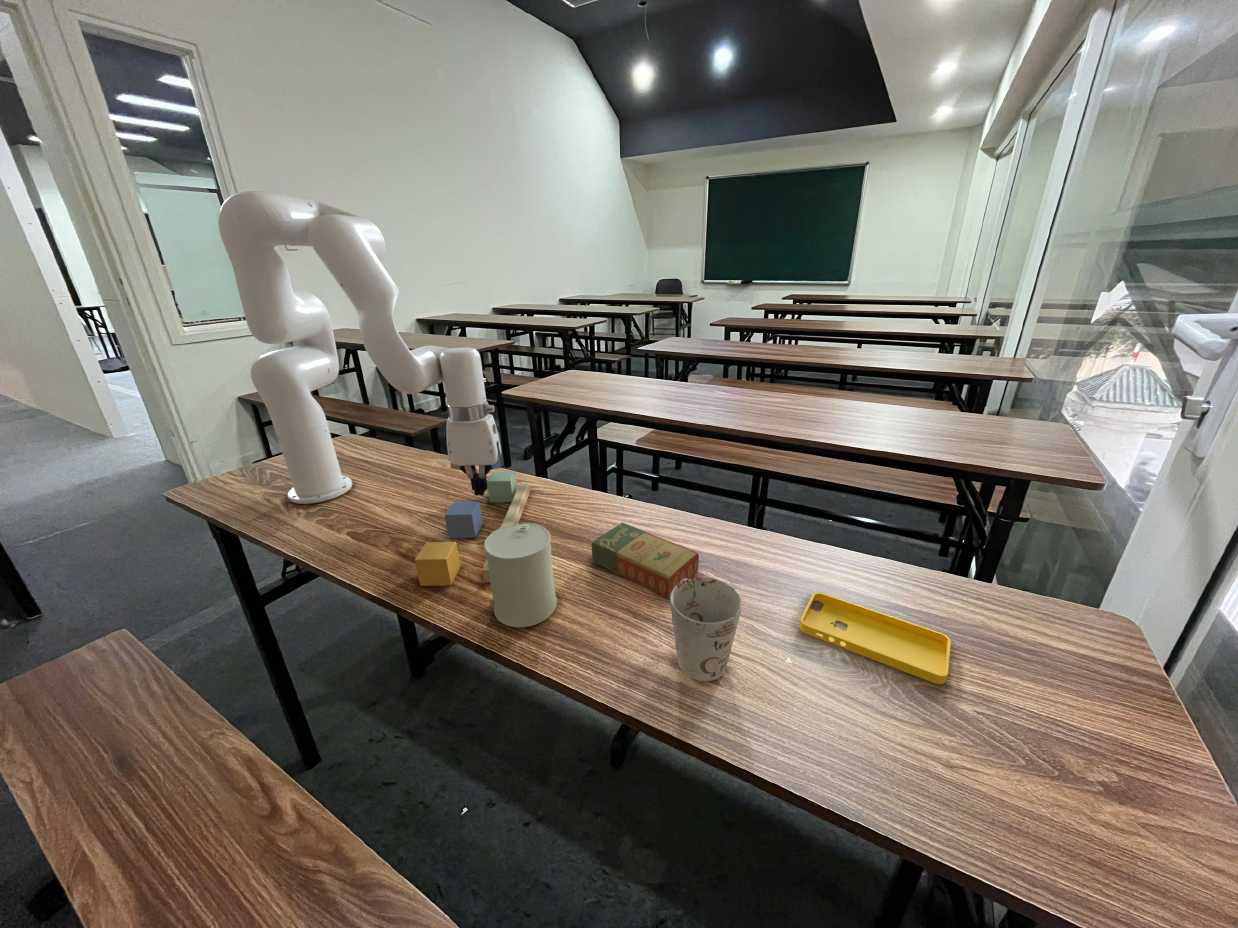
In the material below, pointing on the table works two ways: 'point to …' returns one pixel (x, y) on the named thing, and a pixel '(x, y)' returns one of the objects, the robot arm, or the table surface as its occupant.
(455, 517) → the block mid
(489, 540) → the can
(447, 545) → the block near
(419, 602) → the table surface
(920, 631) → the phone case
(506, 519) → the wooden bar
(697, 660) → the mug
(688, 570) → the carton
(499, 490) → the block far
